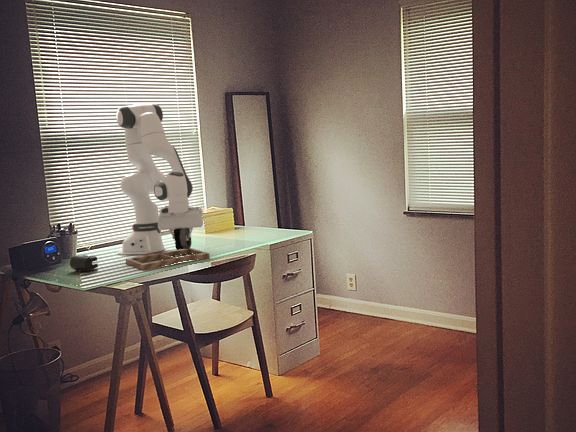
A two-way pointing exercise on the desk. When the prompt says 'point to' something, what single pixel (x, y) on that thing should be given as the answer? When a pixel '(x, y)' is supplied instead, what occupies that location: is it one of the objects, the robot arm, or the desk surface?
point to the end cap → (83, 263)
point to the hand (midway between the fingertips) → (181, 238)
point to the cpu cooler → (182, 238)
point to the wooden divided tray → (165, 258)
